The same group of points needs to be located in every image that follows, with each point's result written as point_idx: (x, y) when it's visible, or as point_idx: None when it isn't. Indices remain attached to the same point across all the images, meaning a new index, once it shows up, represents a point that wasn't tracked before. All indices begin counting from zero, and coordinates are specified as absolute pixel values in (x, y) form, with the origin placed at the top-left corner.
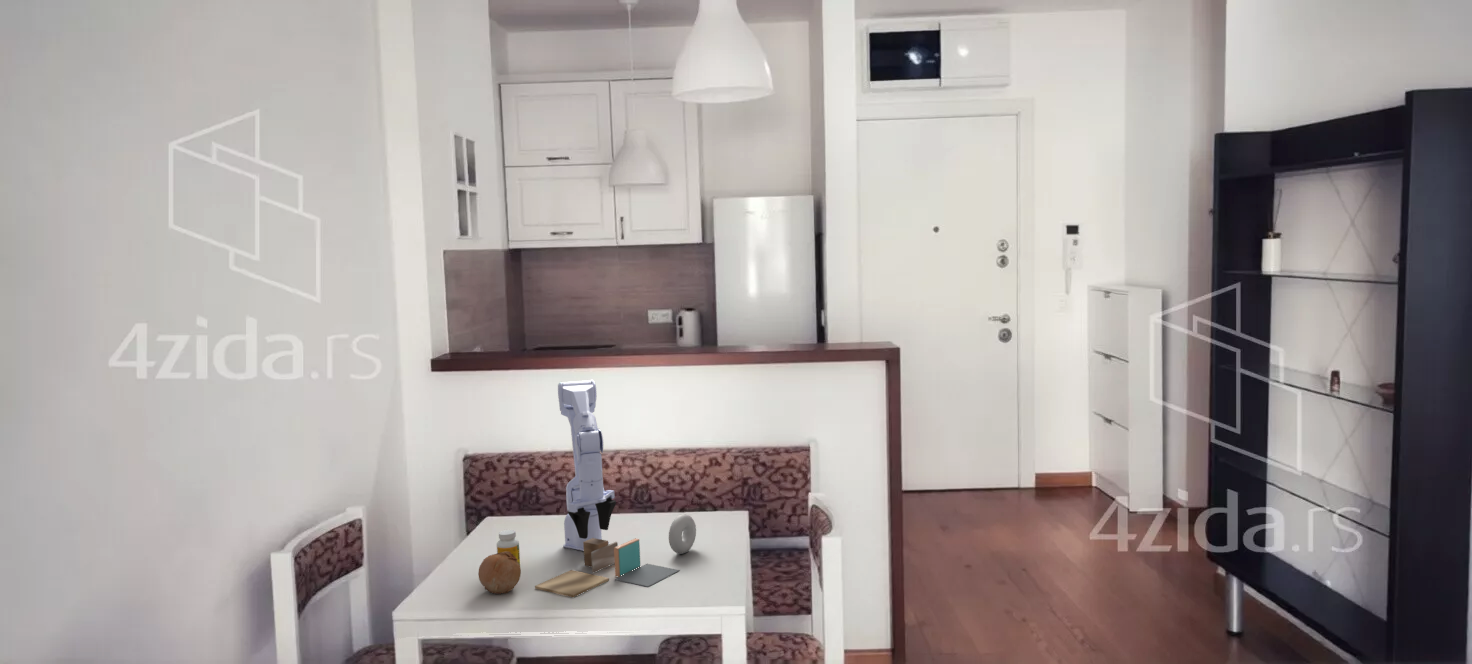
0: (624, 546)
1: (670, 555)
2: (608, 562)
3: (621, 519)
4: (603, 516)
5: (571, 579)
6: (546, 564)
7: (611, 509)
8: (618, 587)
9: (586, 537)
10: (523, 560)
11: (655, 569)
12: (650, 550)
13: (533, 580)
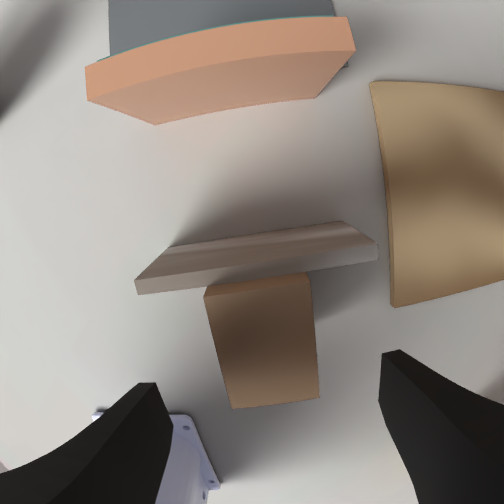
0: (265, 22)
1: (10, 133)
2: (236, 240)
3: (19, 463)
4: (129, 479)
5: (465, 212)
6: (364, 425)
7: (35, 478)
8: (385, 7)
9: (394, 353)
10: (363, 475)
11: (149, 21)
12: (19, 243)
13: (486, 333)
